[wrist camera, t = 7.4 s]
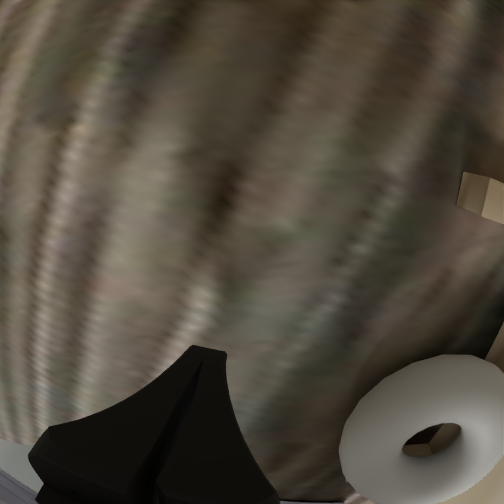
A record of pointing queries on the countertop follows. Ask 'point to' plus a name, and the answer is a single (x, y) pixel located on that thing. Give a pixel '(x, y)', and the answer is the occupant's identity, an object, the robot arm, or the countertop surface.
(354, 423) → the white rubber ring
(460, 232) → the countertop surface
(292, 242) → the countertop surface
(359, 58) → the countertop surface
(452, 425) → the drawer pull handle
